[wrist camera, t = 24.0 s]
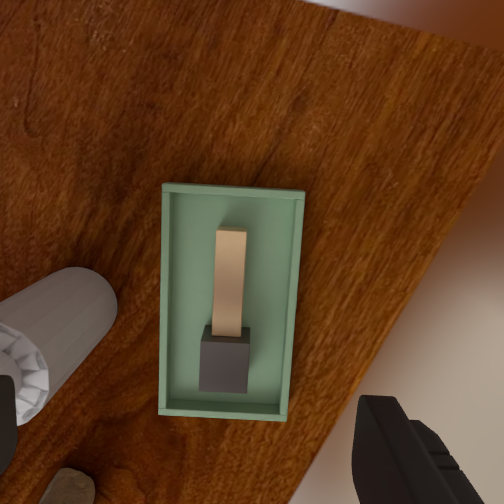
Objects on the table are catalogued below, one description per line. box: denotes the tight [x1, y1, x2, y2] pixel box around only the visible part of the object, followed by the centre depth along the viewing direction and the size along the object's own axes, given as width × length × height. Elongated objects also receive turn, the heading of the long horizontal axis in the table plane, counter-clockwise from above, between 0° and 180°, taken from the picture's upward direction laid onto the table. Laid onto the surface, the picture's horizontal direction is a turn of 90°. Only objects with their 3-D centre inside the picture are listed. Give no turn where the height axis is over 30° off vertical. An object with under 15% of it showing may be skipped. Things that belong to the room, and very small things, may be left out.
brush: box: [199, 226, 250, 394], centre depth 32 cm, size 12×4×3 cm, turn 177°
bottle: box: [0, 267, 117, 426], centre depth 27 cm, size 6×6×16 cm
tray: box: [159, 182, 305, 421], centre depth 34 cm, size 18×10×2 cm, turn 177°
